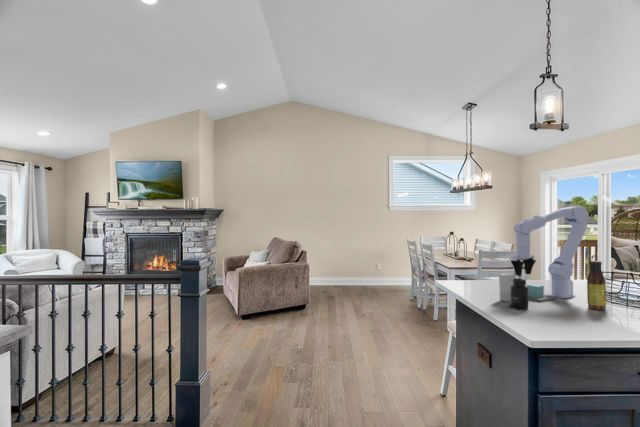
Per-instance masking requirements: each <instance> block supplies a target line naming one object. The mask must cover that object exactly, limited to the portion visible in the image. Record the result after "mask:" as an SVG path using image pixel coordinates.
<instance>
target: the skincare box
mask: <svg viewBox="0 0 640 427" xmlns="http://www.w3.org/2000/svg"><path fill="white" fill-rule="evenodd" d="M513 279H517V275H516V274H510V273H501V274H498V281H499V282H498V284H499V301H504V302H510V288H511V286H512V285H514V284H513Z"/></svg>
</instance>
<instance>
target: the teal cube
mask: <svg viewBox="0 0 640 427" xmlns="http://www.w3.org/2000/svg"><path fill="white" fill-rule="evenodd" d="M526 287H528V289H529V296H531V297H536V298H538V297H543V296H544V295H545V294H544V291H545V289H544V287H545V286H544V285H541V284H535V283H531V284H526Z"/></svg>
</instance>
